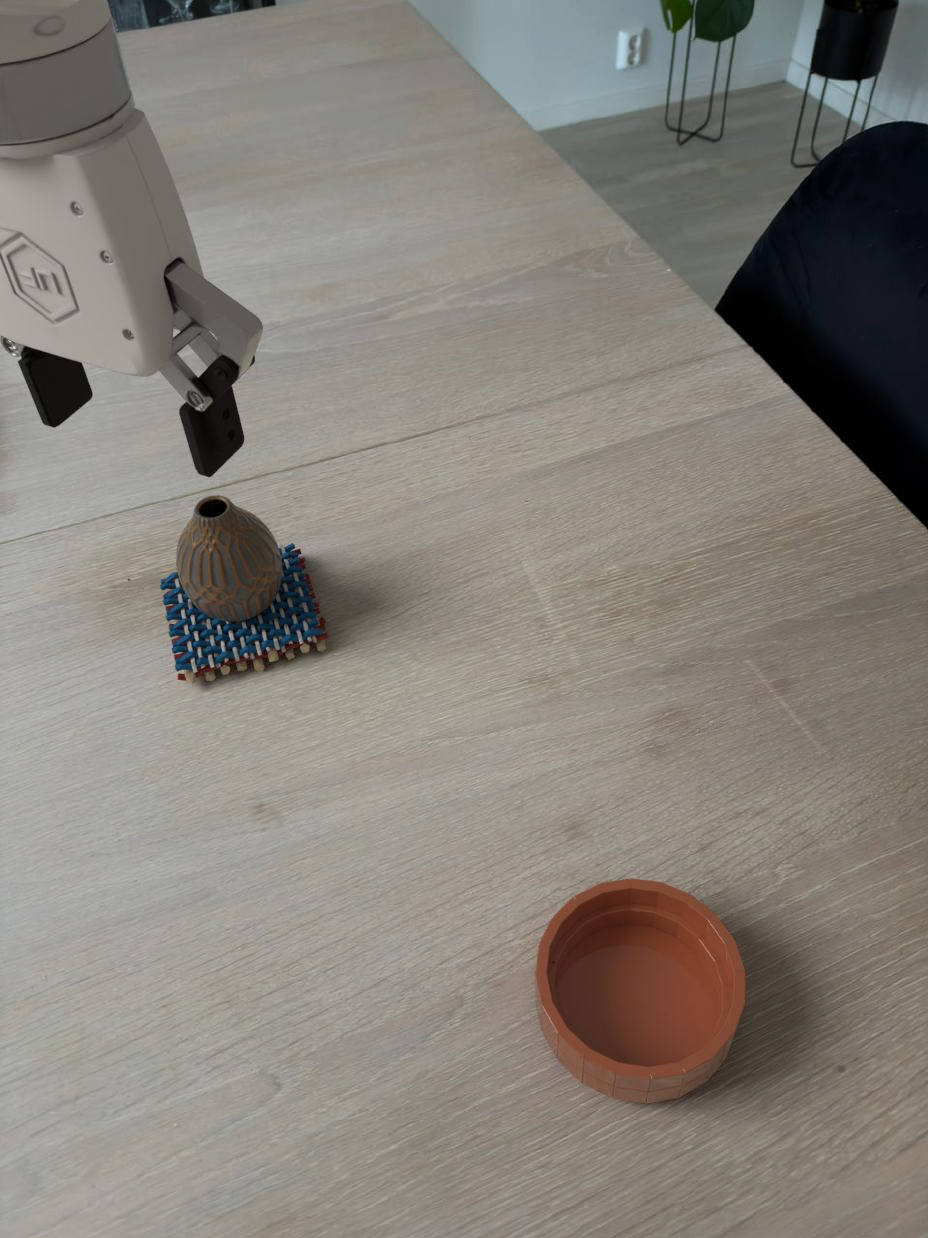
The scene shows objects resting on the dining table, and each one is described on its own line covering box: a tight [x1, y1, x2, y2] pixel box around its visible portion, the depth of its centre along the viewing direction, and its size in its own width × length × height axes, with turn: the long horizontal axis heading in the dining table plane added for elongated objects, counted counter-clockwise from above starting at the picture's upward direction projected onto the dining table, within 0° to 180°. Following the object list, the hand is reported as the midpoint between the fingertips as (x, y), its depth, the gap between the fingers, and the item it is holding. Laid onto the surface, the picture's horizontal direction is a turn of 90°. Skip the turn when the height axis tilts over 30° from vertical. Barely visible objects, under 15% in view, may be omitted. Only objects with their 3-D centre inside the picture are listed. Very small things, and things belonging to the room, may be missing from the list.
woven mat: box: [159, 542, 329, 685], centre depth 77 cm, size 10×11×2 cm
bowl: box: [534, 878, 747, 1104], centre depth 56 cm, size 10×10×4 cm
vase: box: [175, 494, 282, 622], centre depth 73 cm, size 7×7×9 cm
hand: (143, 434), depth 55 cm, fingers open, 9 cm apart
